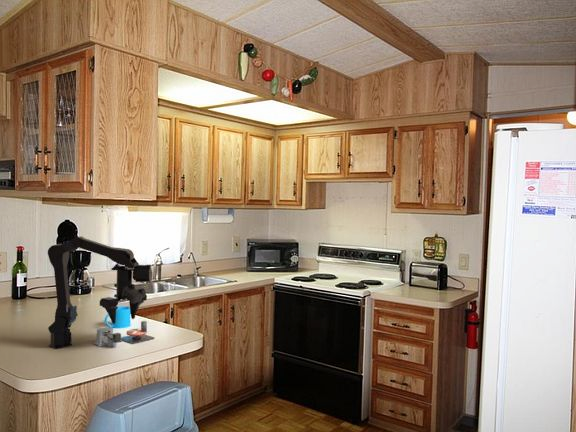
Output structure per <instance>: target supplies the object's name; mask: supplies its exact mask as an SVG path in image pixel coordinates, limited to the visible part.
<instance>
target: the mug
mask: <svg viewBox="0 0 576 432" xmlns="http://www.w3.org/2000/svg"><path fill="white" fill-rule="evenodd" d="M117 307H118V308H117V310H116V322H115V324H113V323H112V321H111V320H110V321H111V324H109V322H108V318H109V315H108V313H107V314H106V315H105V317H104V324H105V325H106V326H107V327H112V328H113V329H127V328H130V327H131V313H130V306H125V305H123V306H121V305H120V306H117Z"/></svg>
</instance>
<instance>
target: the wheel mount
mask: <svg viewBox="0 0 576 432" xmlns="http://www.w3.org/2000/svg"><path fill="white" fill-rule="evenodd" d="M151 340H152V341H153V340H155V337H154V336H151V335H148V334H144V335H140V336H129V335H126V336H121V342H125V343H128V344H132V345H135V344H139V343H143V342H144V343H145V342H147V341H151Z"/></svg>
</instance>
